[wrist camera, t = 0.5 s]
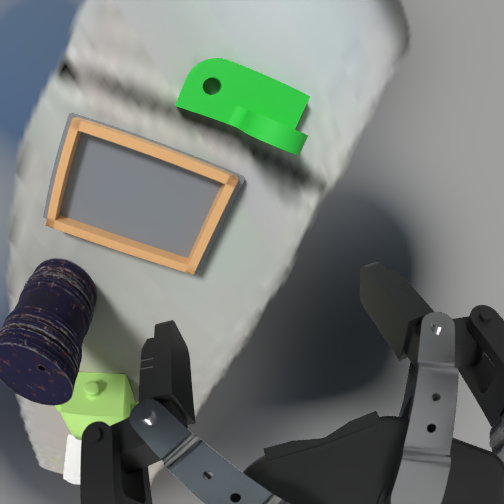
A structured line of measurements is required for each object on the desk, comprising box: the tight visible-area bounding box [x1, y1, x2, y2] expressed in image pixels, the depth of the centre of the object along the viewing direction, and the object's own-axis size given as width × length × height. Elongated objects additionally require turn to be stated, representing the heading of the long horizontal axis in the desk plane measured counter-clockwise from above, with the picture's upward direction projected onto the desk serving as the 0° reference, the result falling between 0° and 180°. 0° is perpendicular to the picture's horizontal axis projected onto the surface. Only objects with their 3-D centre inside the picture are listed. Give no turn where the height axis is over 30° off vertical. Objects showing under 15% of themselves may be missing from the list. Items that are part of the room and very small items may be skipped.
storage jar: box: [0, 258, 97, 405], centre depth 29 cm, size 10×10×15 cm
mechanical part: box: [175, 58, 310, 155], centre depth 26 cm, size 12×6×8 cm, turn 67°
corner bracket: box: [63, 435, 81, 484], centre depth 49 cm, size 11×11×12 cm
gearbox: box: [54, 372, 139, 440], centre depth 41 cm, size 18×10×10 cm, turn 84°
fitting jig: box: [43, 113, 245, 275], centre depth 31 cm, size 12×20×2 cm, turn 63°
